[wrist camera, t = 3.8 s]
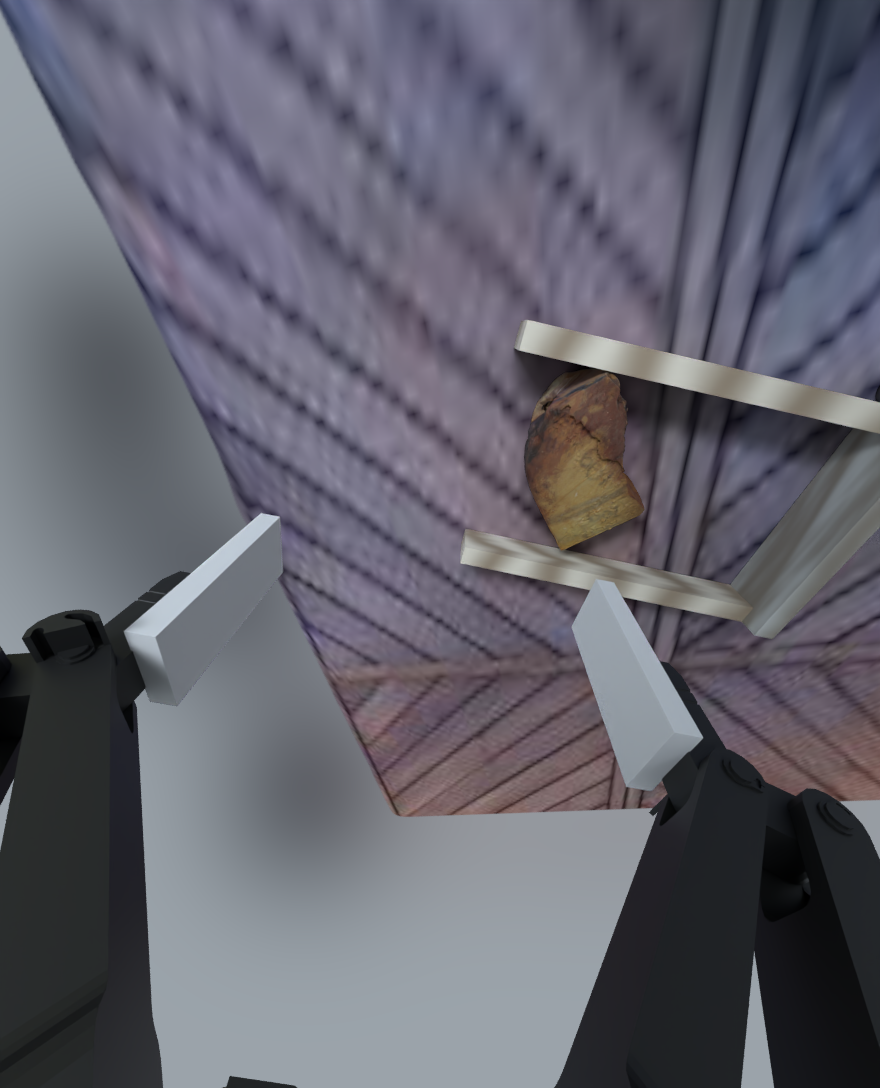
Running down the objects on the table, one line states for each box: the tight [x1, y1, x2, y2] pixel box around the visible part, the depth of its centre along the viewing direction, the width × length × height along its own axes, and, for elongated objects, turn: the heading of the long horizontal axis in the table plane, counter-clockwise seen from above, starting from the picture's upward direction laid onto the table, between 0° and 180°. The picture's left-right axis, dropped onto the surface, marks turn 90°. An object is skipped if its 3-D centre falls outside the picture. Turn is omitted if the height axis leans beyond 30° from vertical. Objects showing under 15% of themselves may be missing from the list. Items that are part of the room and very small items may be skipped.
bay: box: [460, 320, 880, 639], centre depth 30 cm, size 34×26×12 cm
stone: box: [524, 368, 644, 551], centre depth 33 cm, size 15×9×5 cm, turn 23°
